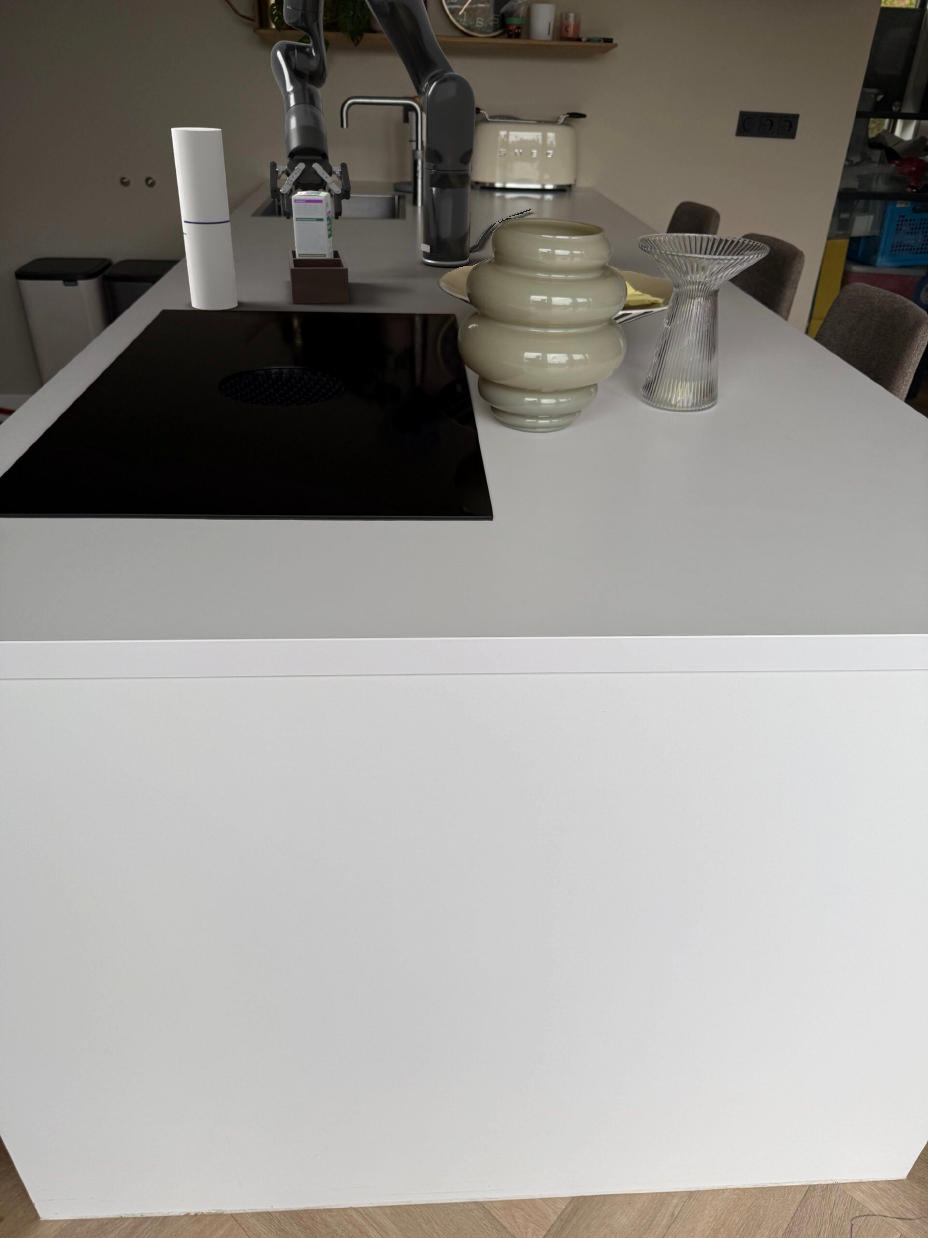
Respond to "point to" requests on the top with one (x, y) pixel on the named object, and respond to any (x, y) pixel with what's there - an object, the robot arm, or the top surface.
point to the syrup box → (312, 224)
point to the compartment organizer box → (318, 279)
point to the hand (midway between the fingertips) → (312, 216)
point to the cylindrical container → (205, 217)
